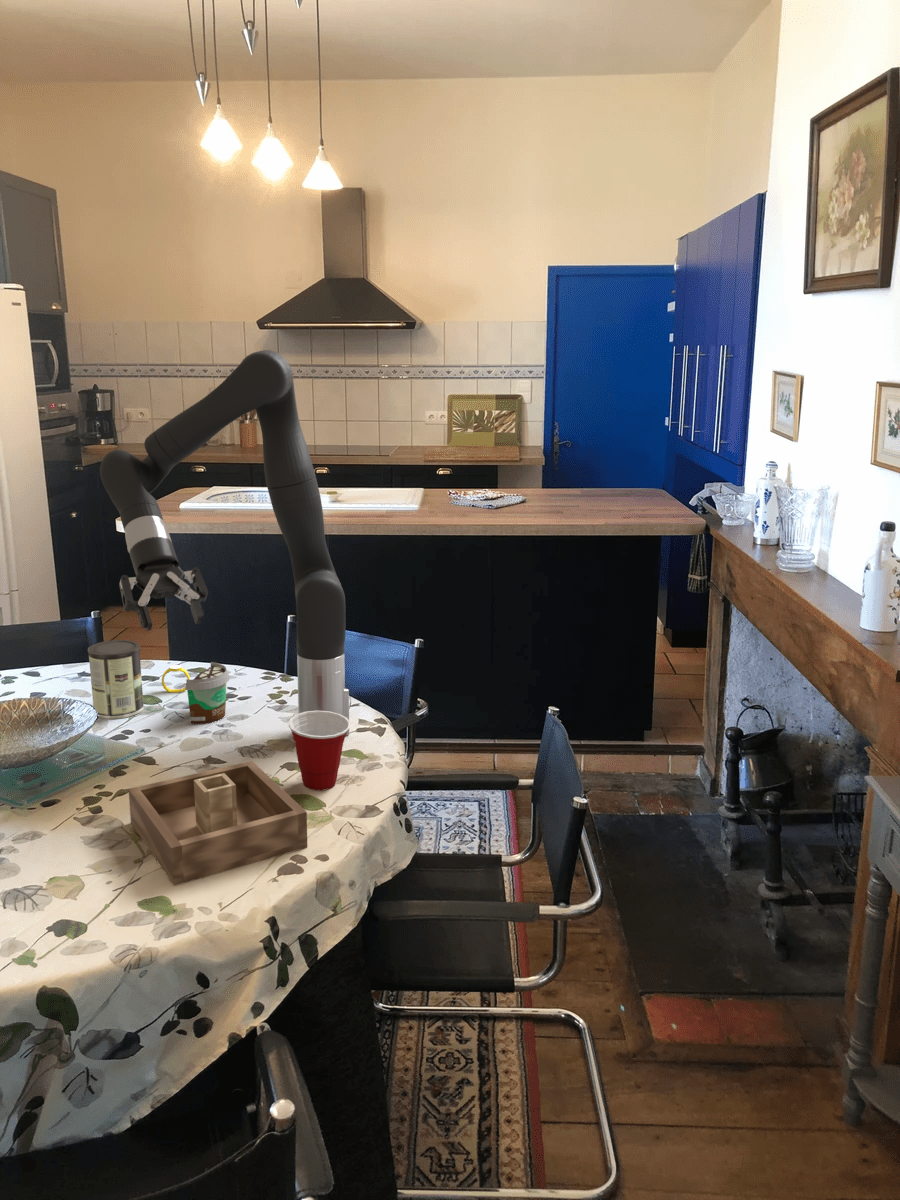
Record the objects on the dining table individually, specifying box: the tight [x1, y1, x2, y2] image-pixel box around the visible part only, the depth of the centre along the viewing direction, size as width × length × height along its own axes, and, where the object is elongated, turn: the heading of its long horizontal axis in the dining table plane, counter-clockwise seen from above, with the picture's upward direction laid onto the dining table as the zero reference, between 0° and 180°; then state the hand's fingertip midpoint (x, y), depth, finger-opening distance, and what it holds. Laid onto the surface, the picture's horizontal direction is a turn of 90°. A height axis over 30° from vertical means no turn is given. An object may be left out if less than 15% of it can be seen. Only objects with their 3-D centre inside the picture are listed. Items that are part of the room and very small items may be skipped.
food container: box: [185, 661, 231, 725], centre depth 198 cm, size 12×6×10 cm, turn 168°
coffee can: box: [87, 639, 145, 720], centre depth 200 cm, size 10×10×14 cm
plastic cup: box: [288, 711, 352, 791], centre depth 168 cm, size 11×11×12 cm
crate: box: [127, 760, 308, 886], centre depth 151 cm, size 21×22×6 cm
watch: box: [161, 664, 191, 694], centre depth 213 cm, size 6×3×6 cm, turn 101°
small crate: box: [194, 773, 237, 834], centre depth 150 cm, size 5×5×8 cm
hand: (174, 625), depth 164 cm, fingers open, 8 cm apart
